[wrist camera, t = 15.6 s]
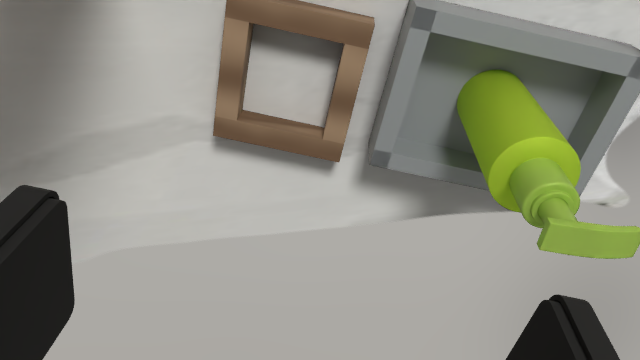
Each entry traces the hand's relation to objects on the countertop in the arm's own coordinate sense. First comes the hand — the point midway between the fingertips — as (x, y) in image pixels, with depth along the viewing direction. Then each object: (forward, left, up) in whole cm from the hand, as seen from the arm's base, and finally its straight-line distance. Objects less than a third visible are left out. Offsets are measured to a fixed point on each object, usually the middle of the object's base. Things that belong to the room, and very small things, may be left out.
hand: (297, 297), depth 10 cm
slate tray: (+7, +15, -36) cm, 40 cm away
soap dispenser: (+7, +15, -36) cm, 39 cm away
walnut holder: (+9, -3, -36) cm, 38 cm away
